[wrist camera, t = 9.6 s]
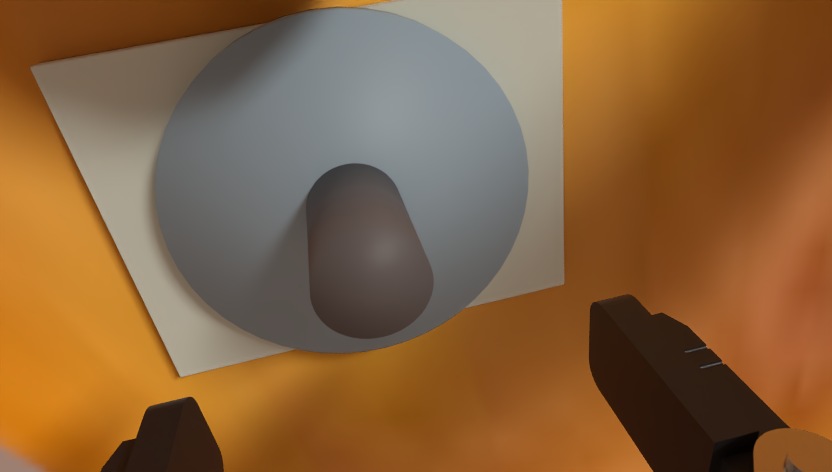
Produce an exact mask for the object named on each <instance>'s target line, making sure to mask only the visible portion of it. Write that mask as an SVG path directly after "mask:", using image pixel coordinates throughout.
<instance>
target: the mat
mask: <svg viewBox="0 0 832 472" xmlns="http://www.w3.org/2000/svg"><path fill="white" fill-rule="evenodd" d="M359 7H360V8H369V9H374V10H380V11H385V12H391V13H394V14H397V15H400V16H403V17H406V18H409V19H412V20H415V21H417V22H419V23H421V24H423V25H425V26H427V27H429V28H431V29H433V30H435V31H437V32H439V33H441V34H443V35H444V36H446V37H447V38H449V39H450V40H452V41H453V42H455V43H456V44H458V45H459V46H460V47H462V48H463V49H465V50H466V51H467V52H469V53H470V54H471V55H472V56H473V57H474V58H475V59H476V60H477V61H478V62H479V63H480V64H482V65H483V66H484V67H485V68H486V70H487V71H488V72H489V73H490V74H491V76H492V77H493V78H494V79H495V81H496V82H497V83H498V84H499V86H500V87H501V89H502V90H503V92H504V94H505V95H506V97H507V99H508V100H509V102H510V104H511V106H512V107H513V110H514V112H515V115H516V117H517V120H518V122H519V124H520V127H521V130H522V134H523V138H524V142H525V146H526V151H527V160H528V169H529V178H528V196H527V202H526V208H525V214H524V217H523V220H522V224H521V227H520V231H519V233H518V236H517V238H516V240H515V243H514V245H513V247H512V250H511V252H510V253H509V255H508V257H507V258H506V260H505V262H504V264H503V265H502V267H501V269H500V270H499V271H498V273H497V274H496V275H495V277H494V278H493V279H492V281H491V282H490V283H489V285H488V286H487V287H486V288H485V289H484V290H483V291H482V292H481V293H480V294H479V295H478V296H477V297H476V298H475V299H474V300H473V301H472V302H471V303H470V304H469V305H467V306H466V307H465V308H469V307H473V306H477V305H481V304H485V303H489V302H494V301H498V300H502V299H506V298H510V297H514V296H518V295H522V294H527V293H531V292H535V291H539V290H543V289H547V288H551V287H556V286H560V285H564V180H563V59H562V0H392V1H387V2H381V3H375V4H370V5H364V6H359ZM263 24H266V23H263ZM263 24H258V25H252V26H246V27H241V28H235V29H229V30H224V31H218V32H213V33H207V34H201V35H196V36H190V37H184V38H179V39H173V40H168V41H162V42H156V43H151V44H145V45H140V46H134V47H128V48H123V49H117V50H111V51H106V52H100V53H95V54H89V55H83V56H78V57H72V58H67V59H61V60H55V61H50V62H44V63H38V64H36V65H34V66H32V67H30V69H31V71H32V73H33V75H34V77H35V79H36V82H37V84H38V86H39V88H40V90H41V92H42V94H43V96H44V98H45V100H46V102H47V104H48V106H49V108H50V110H51V112H52V114H53V116H54V118H55V121H56V123H57V125H58V127H59V129H60V131H61V133H62V135H63V137H64V139H65V141H66V143H67V145H68V147H69V149H70V151H71V153H72V155H73V157H74V160H75V162H76V164H77V166H78V168H79V170H80V172H81V174H82V176H83V178H84V180H85V182H86V184H87V186H88V188H89V190H90V192H91V194H92V197H93V199H94V201H95V203H96V205H97V207H98V209H99V211H100V213H101V215H102V217H103V219H104V221H105V223H106V225H107V227H108V229H109V231H110V233H111V236H112V238H113V240H114V242H115V244H116V246H117V248H118V250H119V252H120V254H121V256H122V258H123V260H124V262H125V264H126V266H127V268H128V270H129V272H130V275H131V277H132V279H133V281H134V283H135V285H136V287H137V289H138V291H139V293H140V295H141V297H142V299H143V301H144V303H145V305H146V307H147V309H148V311H149V314H150V316H151V318H152V320H153V322H154V324H155V326H156V328H157V330H158V332H159V334H160V336H161V338H162V340H163V342H164V344H165V346H166V348H167V351H168V353H169V355H170V357H171V359H172V361H173V363H174V365H175V367H176V369H177V371H178V373H179V375H180V377H184V376H188V375H192V374H196V373H200V372H204V371H208V370H212V369H217V368H221V367H225V366H229V365H233V364H237V363H241V362H246V361H250V360H254V359H258V358H262V357H266V356H270V355H274V354H279V353H283V352H287V351H291V350H295V349H294V348H289V347H285V346H281V345H278V344H275V343H272V342H270V341H267V340H264V339H261V338H259V337H257V336H255V335H253V334H251V333H249V332H246V331H244V330H242V329H241V328H239V327H237V326H236V325H234V324H233V323H231V322H230V321H228V320H226V319H225V318H223V317H222V316H221V315H220V314H218V313H217V312H216V311H215V310H214V309H212V308H211V307H210V306H209V305H208V304H206V303H205V302H204V300H203V299H202V298H201V297H200V296H199V295H198V294H197V293H196V292H195V291H194V290H193V289H192V288H191V286H190V285H189V284H188V282H187V281H186V279H185V278H184V277H183V275H182V274H181V272H180V271H179V270H178V268H177V266H176V264H175V262H174V260H173V258H172V256H171V254H170V253H169V251H168V249H167V246H166V243H165V240H164V237H163V234H162V231H161V229H160V225H159V219H158V214H157V209H156V204H155V172H156V164H157V156H158V152H159V148H160V145H161V141H162V138H163V134H164V131H165V128H166V126H167V124H168V122H169V120H170V117H171V115H172V113H173V111H174V109H175V107H176V105H177V104H178V102H179V101H180V99H181V97H182V96H183V94H184V93H185V91H186V90H187V88H188V87H189V85H190V84H191V83H192V81H193V80H194V79H195V78H196V76H197V75H198V74H199V73H200V72H201V71H202V70H203V69H204V68H205V66H206V65H207V64H208V63H209V62H210V61H211V60H212V59H213V58H214V57H215V56H216V55H217V54H219V53H220V52H221V51H222V50H224V49H225V48H226V47H227V46H228V45H230V44H231V43H232V42H233V41H235V40H236V39H238V38H240V37H241V36H243V35H245V34H246V33H248V32H250V31H252V30H253V29H255V28H257V27H258V26H261V25H263ZM465 308H464V309H465Z"/></svg>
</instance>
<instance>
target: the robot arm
mask: <svg viewBox="0 0 832 472" xmlns="http://www.w3.org/2000/svg"><path fill="white" fill-rule="evenodd" d="M589 364H590V369H591V372H592V376H593V378H594V381H595V383H596V385H597V387H598V389H599V390H600V392H601V393H602V395H603V396H604V398H605V399H606V401H607V402H608V404H609V405H610V407H611V408H612V410H613V411H614V413H615V414H616V416H617V417H618V419H619V420H620V422H621V423H622V425H623V426H624V428H625V429H626V431H627V432H628V434H629V435H630V437H631V438H632V440H633V441H634V443H635V444H636V446H637V447H638V449H639V451H640V452H641V454H642V455H643V457H644V458H645V460H646V461H647V463H648V464H649V466H650V467H651V469H652V470H653V472H832V441H831V440H829V439H827V438H825V437H823V436H820V435H818V434H815V433H812V432H809V431H805V430H800V429H793V428H790V427H789V426H788V425H786V424H785V423H784V422H783V421H782V420H781V419H780V418H779V417H778V416H777V415H776V414H775V413H774V412H773V411H772V410H771V409H770V408H769V407H768V406H767V405H766V404H765V403H764V402H763V401H762V400H761V399H760V398H759V397H758V396H757V395H756V394H755V393H754V392H753V391H752V390H751V389H750V388H749V387H748V386H747V385H746V384H745V383H744V382H743V381H742V380H741V379H740V378H739V377H738V376H737V375H736V374H735V373H734V372H733V371H732V370H731V369H730V368H729V367H728V366H727V365H726V364H724V365H723V363H722V360H721V359H720V358H719V357H718V356H717V355H716V354H715V353H714V352H713V351H712V350H711V349H707V347H706V344H705V343H704V342H703V341H702V340H701V339H700V338H699V337H698V336H697V335H696V334H695V333H694V332H693V331H692V330H691V329H690V328H689V327H688V326H686V325H684V324H682V323H681V322H679V321H677V320H675V319H673V318H671V317H669V316H667V315H665V314H664V313H659V314H655V315H651V314H650V313H649V312H648V311H647V310H646V309H645V308H644V307H643V306H642V305H641V303H640V302H639V301H638V300H637V299H636V298H635V297H633V296H632V295H629V294H627V295H623V296H618V297H614V298H610V299H606V300H601V301H597V302H594V303H592V305H591V308H590V331H589ZM101 472H224V469H223V461H222V456H221V452H220V449H219V447H218V445H217V443H216V441H215V439H214V436H213V434H212V432H211V430H210V428H209V426H208V424H207V422H206V420H205V418H204V416H203V414H202V412H201V410H200V408H199V406H198V404H197V402H196V401H195V399H194V398H192V397H186V398H182V399H178V400H174V401H169V402H165V403H161V404H157V405H153V406H150V407H148V408H147V410H146V411H145V414H144V417H143V420H142V422H141V425H140V428H139V431H138V434H137V437H136V438H135V439H131V440H127V441H123V442H122V443H121V444H120V446H119V447H118V448H117V450H116V451H115V452H114V453H113V455H112V456H111V457H110V459H109V460H108V461H107V462H106V464H105V465H104V466H103V468H102V470H101Z"/></svg>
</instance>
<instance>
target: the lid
mask: <svg viewBox="0 0 832 472" xmlns="http://www.w3.org/2000/svg"><path fill="white" fill-rule="evenodd" d="M528 178H529V169H528V160H527V151H526V146H525V142H524V138H523V134H522V130H521V127H520V124H519V122H518V120H517V117H516V115H515V112H514V110H513V107H512V106H511V104H510V102H509V100H508V99H507V97H506V95H505V94H504V92H503V90H502V89H501V87H500V86H499V84H498V83H497V82H496V81H495V79H494V78H493V77H492V76H491V74H490V73H489V72H488V71H487V70H486V68H485V67H484V66H483V65H482V64H480V63H479V62H478V61H477V60H476V59H475V58H474V57H473V56H472V55H471V54H470V53H469V52H467V51H466V50H465V49H463V48H462V47H460V46H459V45H458V44H456V43H455V42H453V41H452V40H450V39H449V38H447V37H446V36H444V35H443V34H441V33H439V32H437V31H435V30H433V29H431V28H429V27H427V26H425V25H423V24H421V23H419V22H417V21H415V20H412V19H409V18H406V17H403V16H400V15H397V14H394V13H391V12H385V11H380V10H374V9H369V8H360V7H329V8H320V9H310V10H306V11H302V12H298V13H294V14H290V15H286V16H283V17H280V18H278V19H275V20H273V21H270V22H268V23H266V24H263V25H261V26H258V27H257V28H255V29H253V30H252V31H250V32H248V33H246V34H245V35H243V36H241V37H240V38H238V39H236V40H235V41H233V42H232V43H231V44H230V45H228V46H227V47H226V48H225V49H224V50H222V51H221V52H220V53H219V54H217V55H216V56H215V57H214V58H213V59H212V60H211V61H210V62H209V63H208V64H207V65H206V66H205V68H204V69H203V70H202V71H201V72H200V73H199V74H198V75H197V76H196V78H195V79H194V80H193V81H192V83H191V84H190V85H189V87H188V88H187V90H186V91H185V93H184V94H183V96H182V97H181V99H180V101H179V102H178V104H177V105H176V107H175V109H174V111H173V113H172V115H171V117H170V120H169V122H168V124H167V126H166V128H165V131H164V134H163V138H162V141H161V145H160V148H159V152H158V156H157V164H156V172H155V204H156V209H157V214H158V219H159V225H160V229H161V231H162V234H163V237H164V240H165V243H166V246H167V249H168V251H169V253H170V254H171V256H172V258H173V260H174V262H175V264H176V266H177V268H178V270H179V271H180V272H181V274H182V275H183V277H184V278H185V279H186V281H187V282H188V284H189V285H190V286H191V288H192V289H193V290H194V291H195V292H196V293H197V294H198V295H199V296H200V297H201V298H202V299H203V300H204V302H205V303H206V304H208V305H209V306H210V307H211V308H212V309H214V310H215V311H216V312H217V313H218V314H220V315H221V316H222V317H223V318H225V319H226V320H228V321H230V322H231V323H233V324H234V325H236V326H237V327H239V328H241V329H242V330H244V331H246V332H249V333H251V334H253V335H255V336H257V337H259V338H261V339H264V340H267V341H270V342H272V343H275V344H278V345H281V346H285V347H289V348H294V349H298V350H303V351H311V352H319V353H353V352H364V351H370V350H375V349H380V348H386V347H389V346H392V345H396V344H399V343H402V342H406V341H408V340H410V339H413V338H415V337H418V336H420V335H422V334H425V333H427V332H428V331H430V330H432V329H434V328H436V327H438V326H440V325H441V324H443V323H444V322H446V321H447V320H449V319H450V318H452V317H453V316H455V315H456V314H458V313H459V312H460V311H461V310H463V309H464V308H465V307H466V306H467V305H469V304H470V303H471V302H472V301H473V300H474V299H475V298H476V297H477V296H478V295H479V294H480V293H481V292H482V291H483V290H484V289H485V288H486V287H487V286H488V285H489V283H490V282H491V281H492V279H493V278H494V277H495V275H496V274H497V273H498V271H499V270H500V269H501V267H502V265H503V264H504V262H505V260H506V258H507V257H508V255H509V253H510V252H511V250H512V247H513V245H514V243H515V240H516V238H517V236H518V233H519V231H520V227H521V224H522V220H523V217H524V214H525V208H526V202H527V196H528Z"/></svg>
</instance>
